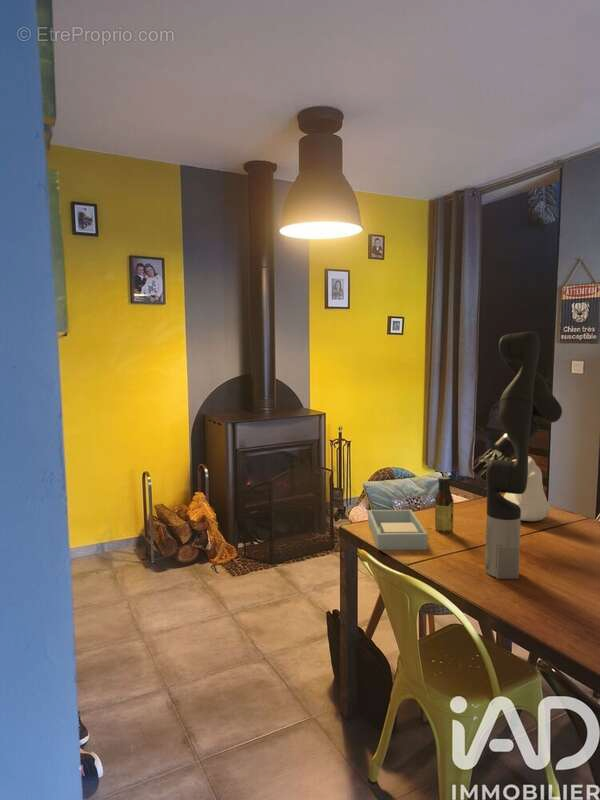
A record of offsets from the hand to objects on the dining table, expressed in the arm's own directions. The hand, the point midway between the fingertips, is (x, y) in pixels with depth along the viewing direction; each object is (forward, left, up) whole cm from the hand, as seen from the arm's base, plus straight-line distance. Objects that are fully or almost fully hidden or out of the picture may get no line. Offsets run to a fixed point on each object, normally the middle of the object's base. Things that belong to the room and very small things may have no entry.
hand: (477, 475), depth 188 cm
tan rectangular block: (-11, +30, -20) cm, 37 cm away
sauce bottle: (0, +12, -21) cm, 24 cm away
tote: (-5, +30, -21) cm, 36 cm away
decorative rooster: (+18, -24, -21) cm, 37 cm away
